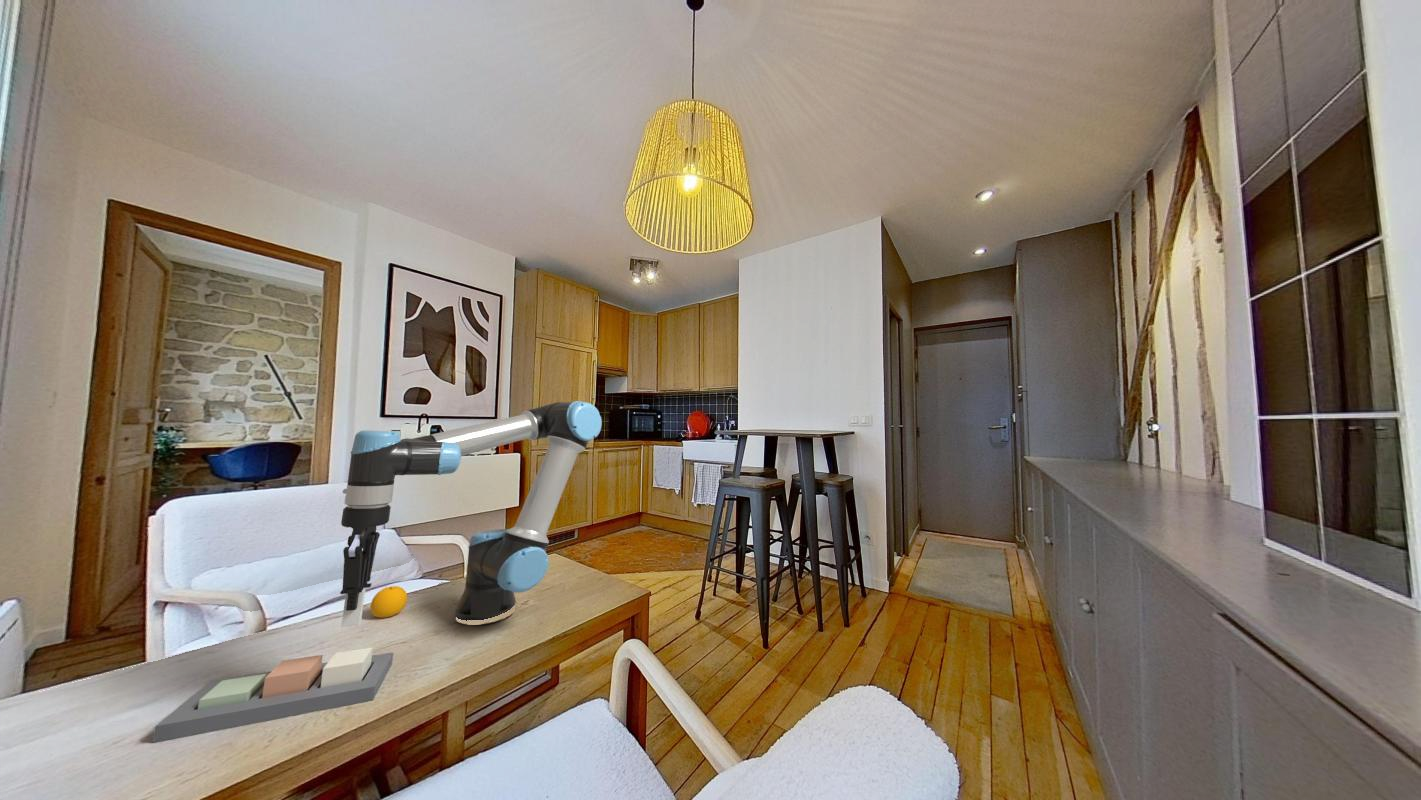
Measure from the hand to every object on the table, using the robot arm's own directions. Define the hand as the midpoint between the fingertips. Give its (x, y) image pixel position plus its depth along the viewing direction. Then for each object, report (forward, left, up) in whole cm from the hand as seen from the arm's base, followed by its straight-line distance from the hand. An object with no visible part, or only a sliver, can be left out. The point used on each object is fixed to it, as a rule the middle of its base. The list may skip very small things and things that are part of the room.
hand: (351, 624), depth 80 cm
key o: (+16, 0, -12) cm, 20 cm away
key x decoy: (+8, 0, -10) cm, 13 cm away
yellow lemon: (+1, -35, -12) cm, 37 cm away
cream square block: (0, 0, -10) cm, 10 cm away
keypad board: (+8, 0, -12) cm, 14 cm away
